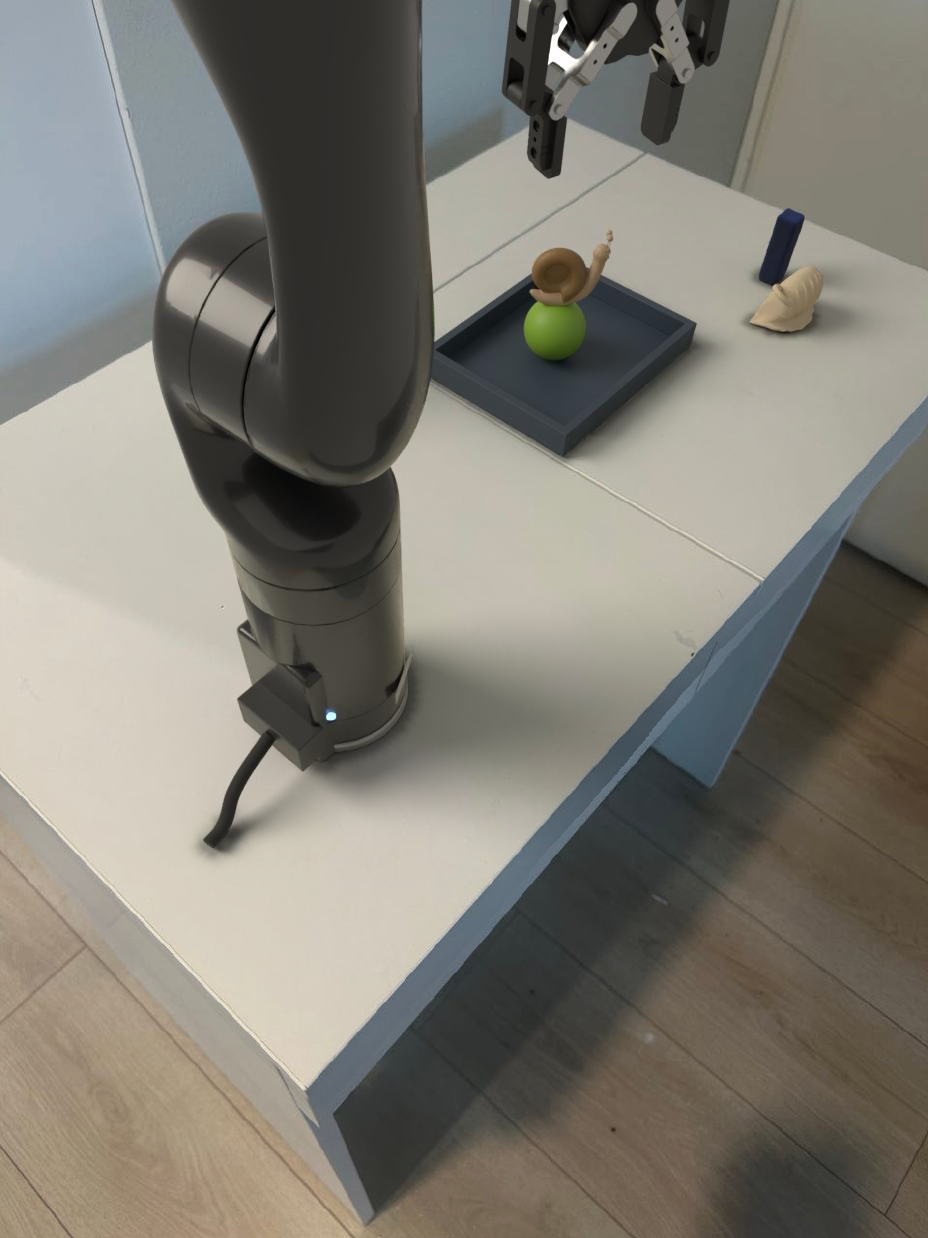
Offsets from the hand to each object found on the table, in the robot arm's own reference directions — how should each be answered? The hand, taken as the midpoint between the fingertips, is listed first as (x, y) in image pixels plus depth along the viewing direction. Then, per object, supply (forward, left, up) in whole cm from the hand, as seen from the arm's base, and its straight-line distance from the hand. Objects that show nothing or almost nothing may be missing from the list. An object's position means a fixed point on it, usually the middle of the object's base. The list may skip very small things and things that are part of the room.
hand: (601, 154), depth 60 cm
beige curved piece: (+27, -6, -24) cm, 37 cm away
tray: (+8, +6, -24) cm, 26 cm away
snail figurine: (+8, +6, -24) cm, 26 cm away
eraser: (+32, -2, -24) cm, 40 cm away
